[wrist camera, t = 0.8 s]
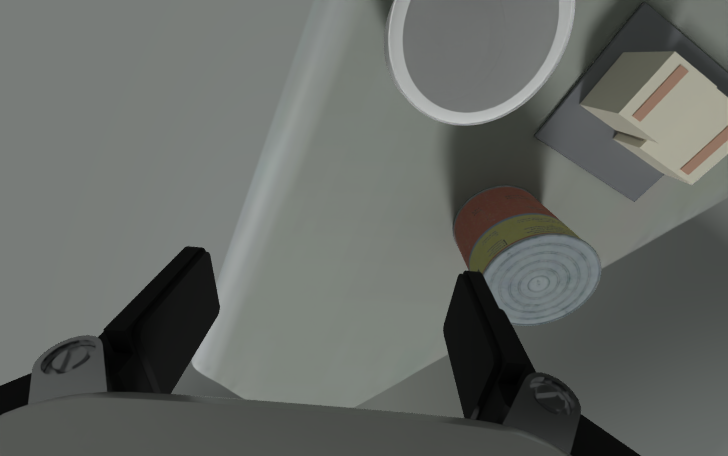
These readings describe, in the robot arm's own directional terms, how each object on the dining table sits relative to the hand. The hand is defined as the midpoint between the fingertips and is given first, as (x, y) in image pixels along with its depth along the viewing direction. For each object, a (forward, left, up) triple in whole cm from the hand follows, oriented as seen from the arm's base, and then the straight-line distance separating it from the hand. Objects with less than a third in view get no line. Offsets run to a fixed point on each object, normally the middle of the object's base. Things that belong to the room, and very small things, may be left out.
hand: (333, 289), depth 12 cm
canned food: (+2, +21, -27) cm, 35 cm away
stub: (-17, +21, -27) cm, 38 cm away
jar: (-11, +2, -27) cm, 30 cm away
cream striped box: (-17, +29, -27) cm, 43 cm away
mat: (-16, +25, -27) cm, 40 cm away
